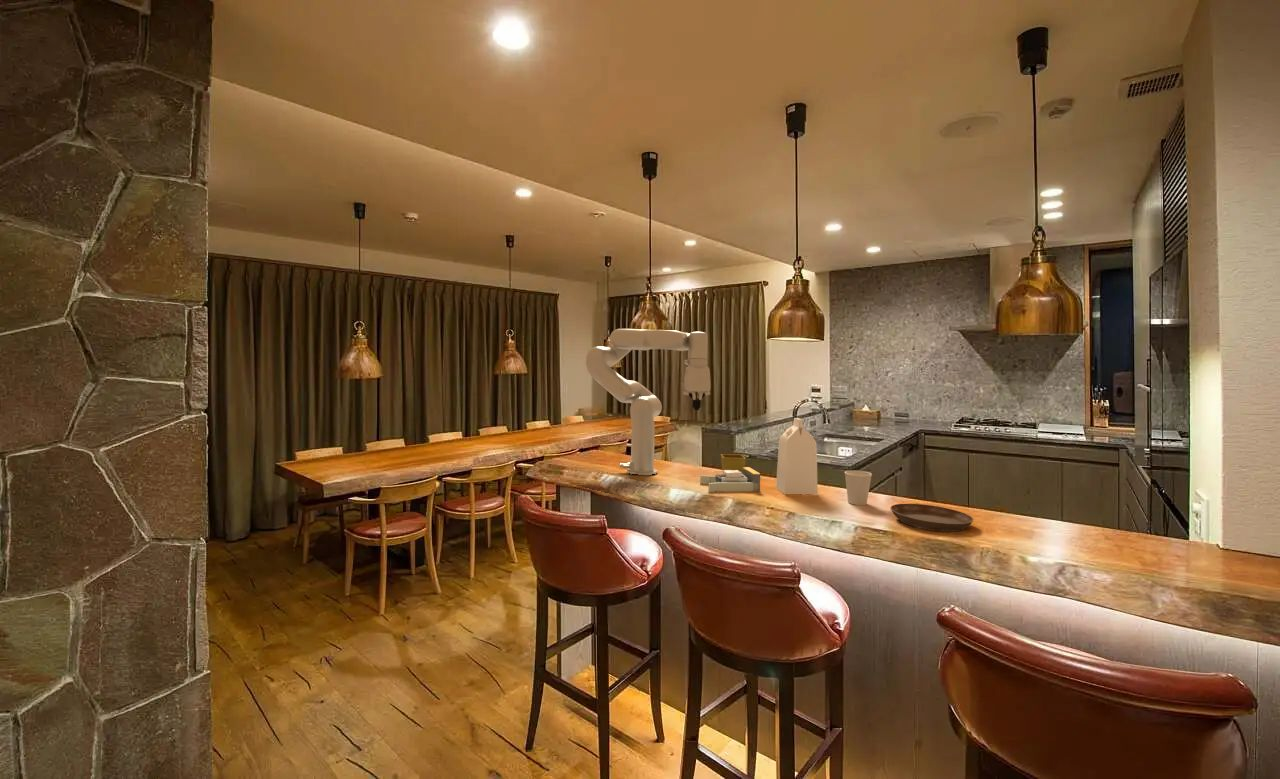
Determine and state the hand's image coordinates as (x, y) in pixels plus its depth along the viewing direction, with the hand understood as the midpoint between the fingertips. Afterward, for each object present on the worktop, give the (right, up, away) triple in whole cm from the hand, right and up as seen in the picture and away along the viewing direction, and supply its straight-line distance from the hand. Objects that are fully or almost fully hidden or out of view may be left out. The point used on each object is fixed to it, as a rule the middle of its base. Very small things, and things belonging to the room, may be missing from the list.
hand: (696, 409), depth 209 cm
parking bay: (+10, -28, -16) cm, 34 cm away
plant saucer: (+60, -30, -59) cm, 90 cm away
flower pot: (+14, -28, +1) cm, 31 cm away
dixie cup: (+49, -29, -37) cm, 68 cm away
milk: (+34, -29, -20) cm, 48 cm away
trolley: (+11, -28, -16) cm, 34 cm away
